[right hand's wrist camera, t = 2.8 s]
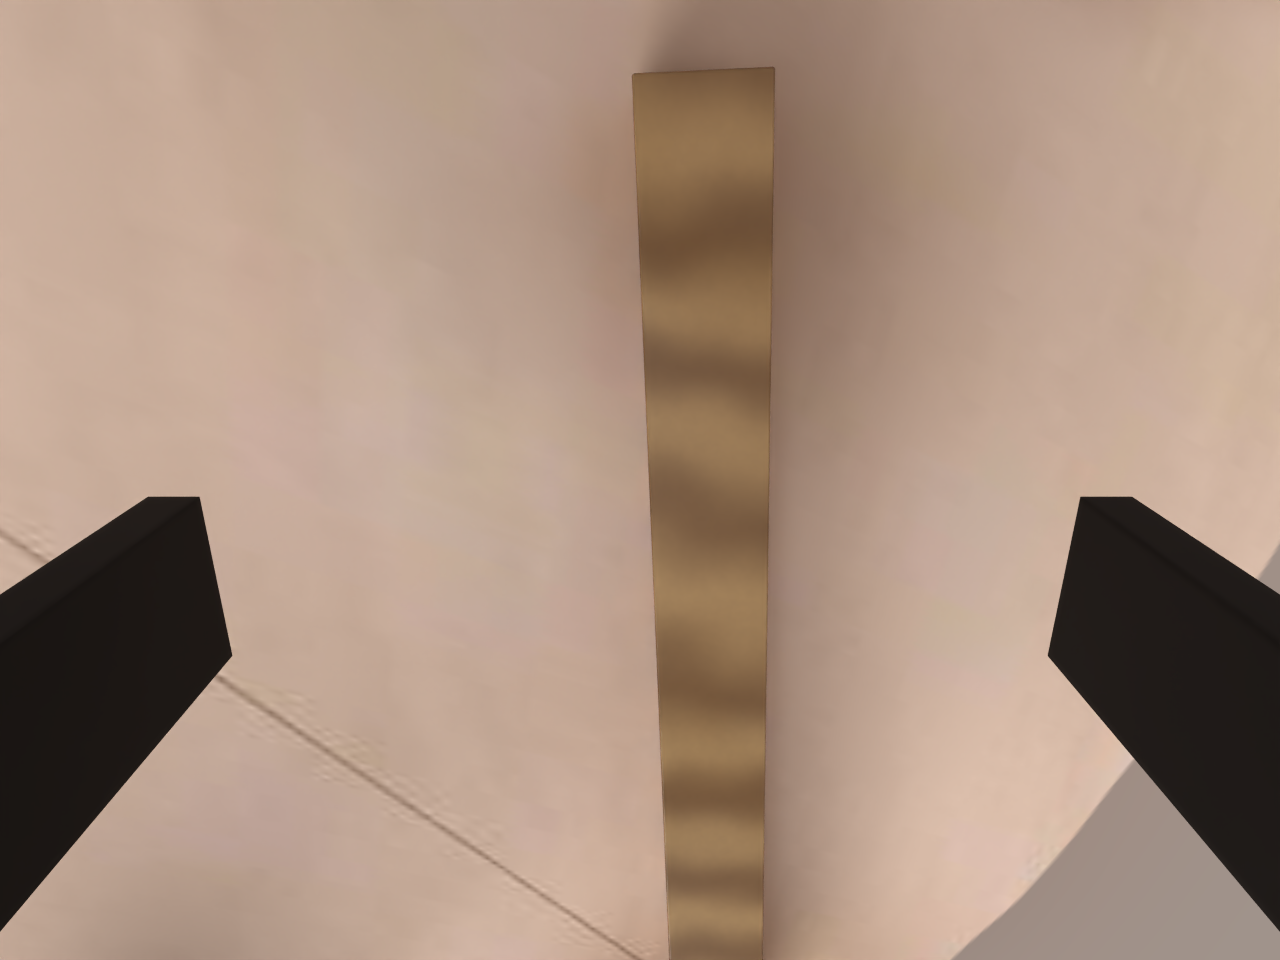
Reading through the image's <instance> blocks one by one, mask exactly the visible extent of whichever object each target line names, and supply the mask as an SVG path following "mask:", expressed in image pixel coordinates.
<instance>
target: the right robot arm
mask: <svg viewBox="0 0 1280 960" xmlns="http://www.w3.org/2000/svg"><path fill="white" fill-rule="evenodd" d="M231 657H232V652H231V647H230V642H229V637H228V632H227V628H226V623H225V618H224V613H223V608H222V603H221V599H220V594H219V589H218V584H217V579H216V574H215V570H214V565H213V560H212V555H211V550H210V545H209V540H208V536H207V531H206V526H205V521H204V516H203V511H202V507H201V502H200V497H147V498H145V499H144V500H142V501H141V502H139V503H138V504H136V505H135V506H133V507H132V508H130V509H129V510H127V511H126V512H124V513H123V514H121V515H120V516H118V517H117V518H115V519H114V520H112V521H111V522H109V523H108V524H106V525H105V526H103V527H102V528H100V529H99V530H97V531H96V532H94V533H93V534H91V535H90V536H88V537H87V538H85V539H83V540H82V541H80V542H79V543H77V544H76V545H74V546H73V547H71V548H70V549H68V550H67V551H65V552H64V553H62V554H61V555H59V556H58V557H56V558H55V559H53V560H52V561H50V562H49V563H47V564H46V565H44V566H43V567H41V568H40V569H38V570H37V571H35V572H34V573H32V574H31V575H29V576H28V577H26V578H25V579H23V580H22V581H20V582H19V583H17V584H15V585H14V586H12V587H11V588H9V589H8V590H6V591H5V592H3V593H2V594H0V931H1V930H2V929H3V928H4V926H5V925H6V924H7V923H8V922H9V920H10V919H11V918H12V917H13V916H14V914H15V913H16V912H17V911H18V910H19V909H20V907H21V906H22V905H23V904H24V903H25V901H26V900H27V899H28V898H29V897H30V895H31V894H32V893H33V892H34V891H35V890H36V888H37V887H38V886H39V885H40V884H41V882H42V881H43V880H44V879H45V878H46V876H47V875H48V874H49V873H50V872H51V871H52V869H53V868H54V867H55V866H56V865H57V863H58V862H59V861H60V860H61V859H62V857H63V856H64V855H65V854H66V853H67V851H68V850H69V849H70V848H71V847H72V846H73V844H74V843H75V842H76V841H77V840H78V838H79V837H80V836H81V835H82V834H83V832H84V831H85V830H86V829H87V828H88V827H89V825H90V824H91V823H92V822H93V821H94V819H95V818H96V817H97V816H98V815H99V813H100V812H101V811H102V810H103V809H104V808H105V806H106V805H107V804H108V803H109V802H110V800H111V799H112V798H113V797H114V796H115V794H116V793H117V792H118V791H119V790H120V789H121V787H122V786H123V785H124V784H125V783H126V781H127V780H128V779H129V778H130V777H131V775H132V774H133V773H134V772H135V771H136V770H137V768H138V767H139V766H140V765H141V764H142V762H143V761H144V760H145V759H146V758H147V756H148V755H149V754H150V753H151V752H152V751H153V749H154V748H155V747H156V746H157V745H158V743H159V742H160V741H161V740H162V739H163V737H164V736H165V735H166V734H167V733H168V731H169V730H170V729H171V728H172V727H173V726H174V724H175V723H176V722H177V721H178V720H179V718H180V717H181V716H182V715H183V714H184V712H185V711H186V710H187V709H188V708H189V707H190V705H191V704H192V703H193V702H194V701H195V699H196V698H197V697H198V696H199V695H200V693H201V692H202V691H203V690H204V689H205V688H206V686H207V685H208V684H209V683H210V682H211V680H212V679H213V678H214V677H215V676H216V674H217V673H218V672H219V671H220V670H221V669H222V667H223V666H224V665H225V664H226V663H227V661H228V660H229V659H230V658H231ZM1048 657H1049V658H1050V659H1051V660H1052V661H1053V663H1054V664H1055V665H1056V666H1057V667H1058V669H1059V670H1060V671H1061V672H1062V673H1063V674H1064V676H1065V677H1066V678H1067V679H1068V680H1069V682H1070V683H1071V684H1072V685H1073V686H1074V688H1075V689H1076V690H1077V691H1078V692H1079V693H1080V695H1081V696H1082V697H1083V698H1084V699H1085V701H1086V702H1087V703H1088V704H1089V705H1090V707H1091V708H1092V709H1093V710H1094V711H1095V712H1096V714H1097V715H1098V716H1099V717H1100V718H1101V720H1102V721H1103V722H1104V723H1105V724H1106V726H1107V727H1108V728H1109V729H1110V730H1111V731H1112V733H1113V734H1114V735H1115V736H1116V737H1117V739H1118V740H1119V741H1120V742H1121V743H1122V745H1123V746H1124V747H1125V748H1126V749H1127V751H1128V752H1129V753H1130V754H1131V755H1132V756H1133V758H1134V759H1135V760H1136V761H1137V762H1138V764H1139V765H1140V766H1141V767H1142V768H1143V769H1144V771H1145V772H1146V773H1147V774H1148V775H1149V777H1150V778H1151V779H1152V780H1153V781H1154V783H1155V784H1156V785H1157V786H1158V787H1159V789H1160V790H1161V791H1162V792H1163V793H1164V794H1165V796H1166V797H1167V798H1168V799H1169V800H1170V802H1171V803H1172V804H1173V805H1174V806H1175V808H1176V809H1177V810H1178V811H1179V812H1180V813H1181V815H1182V816H1183V817H1184V818H1185V819H1186V821H1187V822H1188V823H1189V824H1190V825H1191V827H1192V828H1193V829H1194V830H1195V831H1196V832H1197V834H1198V835H1199V836H1200V837H1201V838H1202V840H1203V841H1204V842H1205V843H1206V844H1207V846H1208V847H1209V848H1210V849H1211V850H1212V851H1213V853H1214V854H1215V855H1216V856H1217V857H1218V859H1219V860H1220V861H1221V862H1222V863H1223V865H1224V866H1225V867H1226V868H1227V869H1228V870H1229V872H1230V873H1231V874H1232V875H1233V876H1234V878H1235V879H1236V880H1237V881H1238V882H1239V884H1240V885H1241V886H1242V887H1243V888H1244V890H1245V891H1246V892H1247V893H1248V894H1249V895H1250V897H1251V898H1252V899H1253V900H1254V901H1255V903H1256V904H1257V905H1258V906H1259V907H1260V909H1261V910H1262V911H1263V912H1264V913H1265V914H1266V916H1267V917H1268V918H1269V919H1270V920H1271V922H1272V923H1273V924H1274V925H1275V926H1276V928H1277V929H1278V930H1279V931H1280V594H1278V593H1277V592H1275V591H1274V590H1272V589H1271V588H1269V587H1268V586H1266V585H1265V584H1263V583H1261V582H1260V581H1258V580H1257V579H1255V578H1254V577H1252V576H1251V575H1249V574H1248V573H1246V572H1245V571H1243V570H1242V569H1240V568H1239V567H1237V566H1236V565H1234V564H1233V563H1231V562H1230V561H1228V560H1227V559H1225V558H1224V557H1222V556H1221V555H1219V554H1218V553H1216V552H1215V551H1213V550H1212V549H1210V548H1209V547H1207V546H1206V545H1204V544H1203V543H1201V542H1200V541H1198V540H1197V539H1195V538H1193V537H1192V536H1190V535H1189V534H1187V533H1186V532H1184V531H1183V530H1181V529H1180V528H1178V527H1177V526H1175V525H1174V524H1172V523H1171V522H1169V521H1168V520H1166V519H1165V518H1163V517H1162V516H1160V515H1159V514H1157V513H1156V512H1154V511H1153V510H1151V509H1150V508H1148V507H1147V506H1145V505H1144V504H1142V503H1141V502H1139V501H1138V500H1136V499H1135V498H1133V497H1080V502H1079V507H1078V511H1077V516H1076V521H1075V526H1074V531H1073V536H1072V540H1071V545H1070V550H1069V555H1068V560H1067V565H1066V570H1065V574H1064V579H1063V584H1062V589H1061V594H1060V599H1059V603H1058V608H1057V613H1056V618H1055V623H1054V628H1053V632H1052V637H1051V642H1050V647H1049V652H1048Z"/></svg>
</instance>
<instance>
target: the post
mask: <svg viewBox="0 0 1280 960" xmlns="http://www.w3.org/2000/svg"><path fill="white" fill-rule="evenodd" d="M632 89H633V112H634V136H635V159H636V183H637V207H638V230H639V254H640V278H641V301H642V325H643V348H644V372H645V396H646V419H647V443H648V466H649V490H650V514H651V537H652V561H653V585H654V608H655V632H656V655H657V679H658V703H659V726H660V750H661V774H662V797H663V821H664V844H665V868H666V892H667V915H668V939H669V960H762V957H763V886H764V814H765V743H766V672H767V600H768V529H769V458H770V386H771V315H772V243H773V172H774V101H775V68H774V67H757V68H737V69H716V70H695V71H675V72H654V73H634V74H633V75H632Z"/></svg>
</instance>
